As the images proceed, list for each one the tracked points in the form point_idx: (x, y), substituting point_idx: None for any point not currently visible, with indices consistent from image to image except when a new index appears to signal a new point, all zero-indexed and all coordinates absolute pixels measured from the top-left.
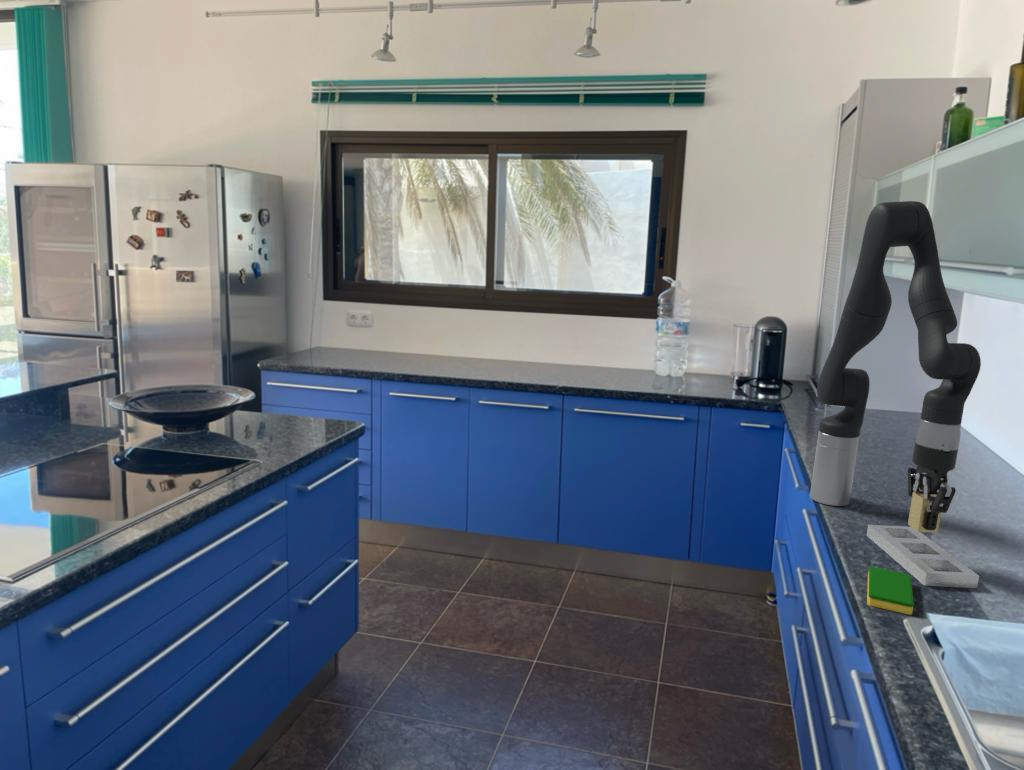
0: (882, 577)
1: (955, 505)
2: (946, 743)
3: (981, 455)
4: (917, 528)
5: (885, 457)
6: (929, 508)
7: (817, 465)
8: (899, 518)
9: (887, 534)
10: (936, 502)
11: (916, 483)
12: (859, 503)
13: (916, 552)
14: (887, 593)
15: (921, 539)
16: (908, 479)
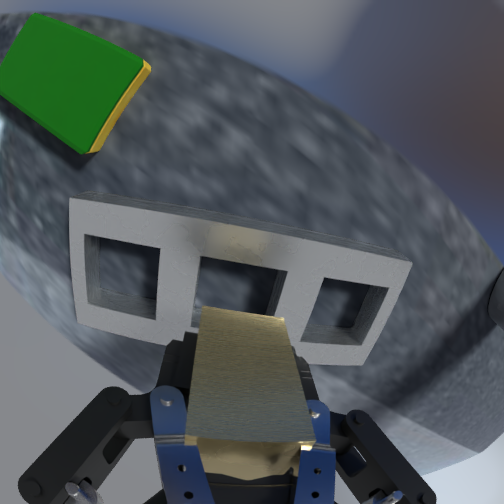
0: (77, 64)
1: (402, 439)
2: None
3: (442, 465)
4: (207, 313)
5: (495, 409)
6: (152, 401)
7: None
8: (420, 367)
9: (347, 273)
10: (84, 430)
11: (318, 492)
12: (480, 332)
13: (269, 304)
14: (23, 48)
15: (294, 343)
16: (405, 464)
